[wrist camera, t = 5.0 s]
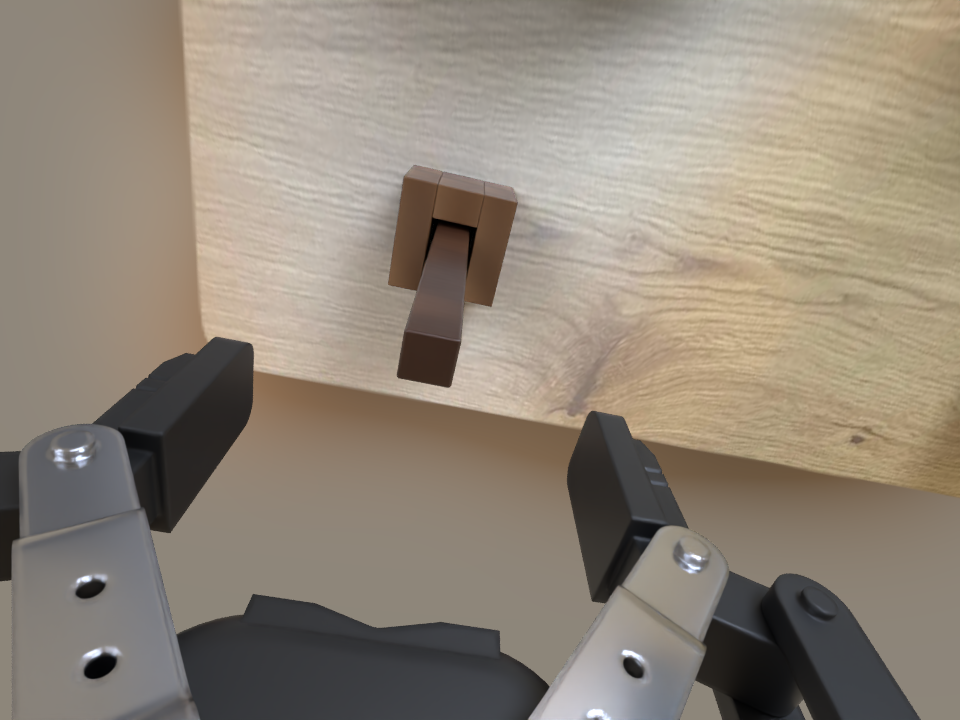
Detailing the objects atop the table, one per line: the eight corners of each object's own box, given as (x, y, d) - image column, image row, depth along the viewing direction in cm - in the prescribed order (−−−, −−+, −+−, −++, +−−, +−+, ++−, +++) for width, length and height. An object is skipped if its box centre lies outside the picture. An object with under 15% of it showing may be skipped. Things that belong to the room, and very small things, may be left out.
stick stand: (398, 261, 30) (387, 285, 26) (413, 164, 27) (403, 175, 24) (490, 281, 30) (491, 307, 27) (513, 187, 28) (517, 202, 24)
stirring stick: (437, 236, 29) (395, 379, 15) (442, 208, 28) (404, 329, 14) (465, 242, 29) (450, 389, 15) (471, 214, 28) (461, 340, 14)
